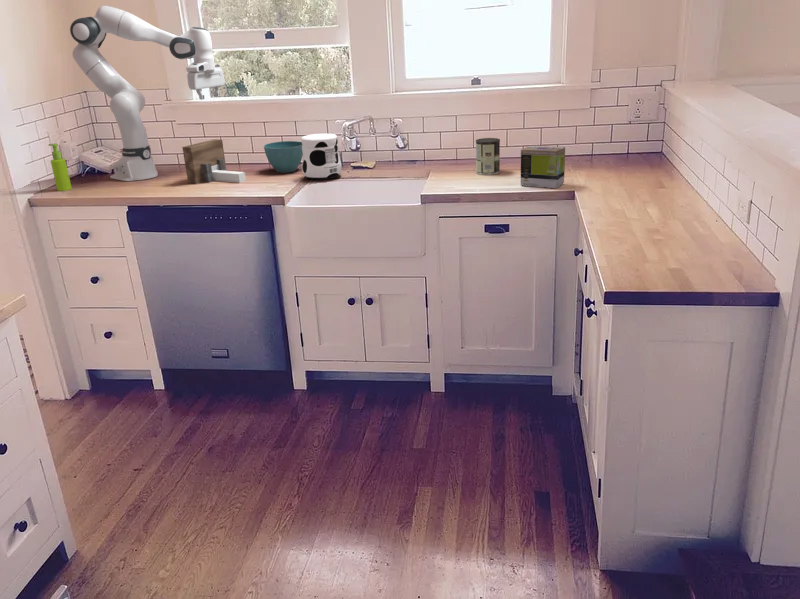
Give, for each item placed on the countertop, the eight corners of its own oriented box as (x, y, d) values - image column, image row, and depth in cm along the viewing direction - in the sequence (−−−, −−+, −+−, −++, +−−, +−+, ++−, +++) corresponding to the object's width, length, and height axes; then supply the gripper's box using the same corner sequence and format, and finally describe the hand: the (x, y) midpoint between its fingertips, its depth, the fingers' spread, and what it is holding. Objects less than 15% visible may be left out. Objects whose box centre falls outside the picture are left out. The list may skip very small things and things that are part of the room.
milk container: (309, 173, 318) (305, 133, 311) (346, 173, 315) (343, 132, 308) (298, 182, 303) (293, 140, 296) (336, 182, 299) (333, 139, 293)
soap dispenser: (66, 187, 314) (56, 142, 307) (74, 188, 310) (64, 143, 302) (53, 189, 310) (43, 144, 302) (61, 191, 306) (50, 145, 298)
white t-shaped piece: (207, 181, 313) (205, 168, 310) (219, 177, 319) (217, 164, 317) (237, 184, 305) (235, 170, 303) (248, 180, 311) (246, 166, 309)
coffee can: (492, 169, 309) (492, 136, 304) (504, 173, 301) (504, 140, 295) (471, 171, 306) (471, 139, 301) (482, 176, 297) (482, 142, 292)
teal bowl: (314, 168, 327) (311, 142, 323) (286, 176, 314) (283, 149, 309) (286, 165, 338) (284, 139, 333) (258, 172, 324) (255, 146, 320)
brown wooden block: (188, 183, 310) (182, 147, 304) (218, 173, 326) (213, 139, 320) (202, 184, 306) (196, 147, 300) (232, 175, 322) (227, 139, 316)
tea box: (564, 183, 278) (566, 146, 273) (556, 189, 271) (557, 151, 265) (528, 180, 286) (529, 144, 280) (519, 186, 278) (520, 149, 272)
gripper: (215, 64, 321) (219, 95, 326) (183, 68, 305) (188, 100, 310) (226, 64, 318) (230, 95, 324) (194, 67, 302) (198, 101, 307)
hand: (209, 98), depth 317 cm, fingers open, 8 cm apart
